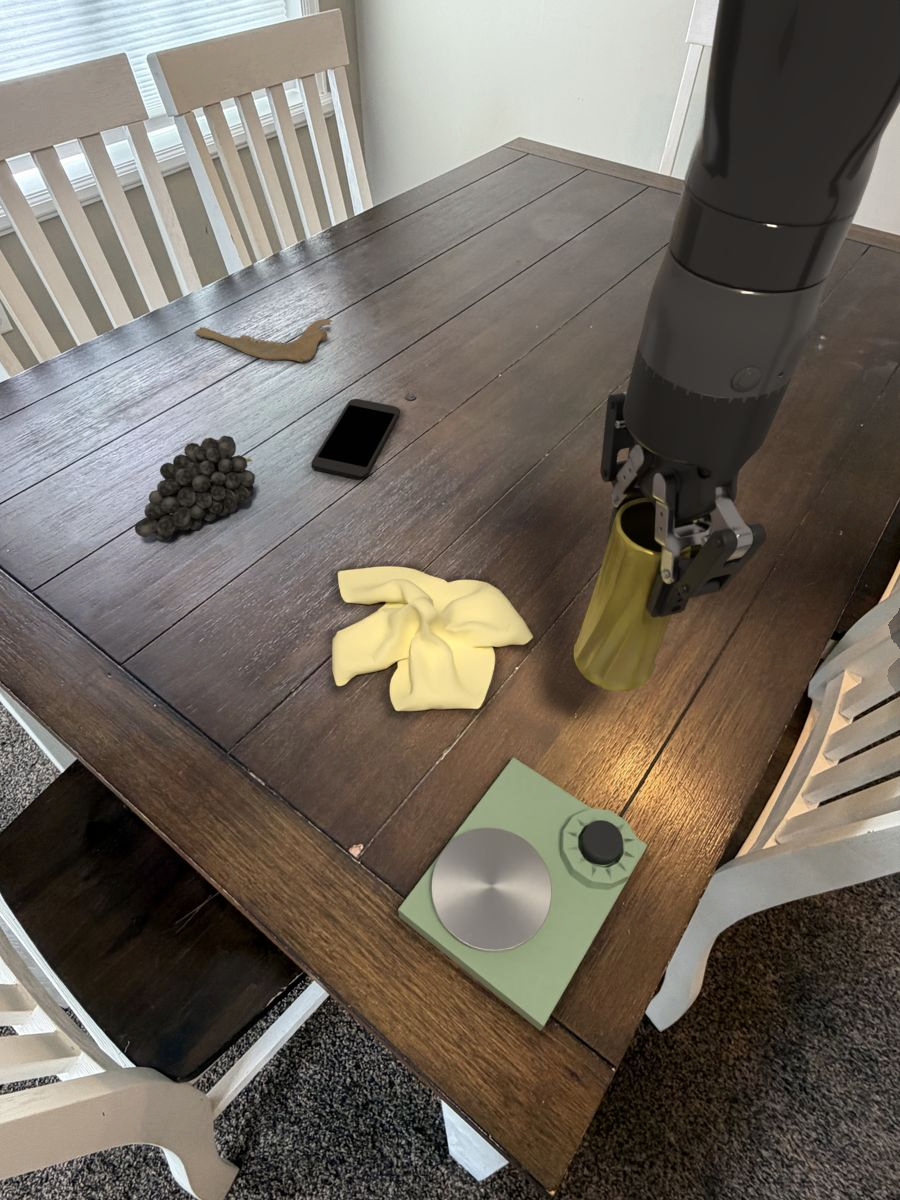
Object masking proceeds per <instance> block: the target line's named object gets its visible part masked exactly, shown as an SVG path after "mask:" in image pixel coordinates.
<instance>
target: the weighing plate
mask: <svg viewBox="0 0 900 1200" xmlns="http://www.w3.org/2000/svg"><path fill="white" fill-rule="evenodd" d="M447 844H448V843H447ZM447 844H446V845H447ZM445 847H446V846H445ZM445 847H444V848H445ZM444 848H443V849H444ZM443 849H442V851H441V852H442V853H441V852H440V853H441V854H440V853H439V854H440V856H439V855H438V856H439V858H438V860H437V862H436V864H435V867H434V870H433V874H432V880H431V896H432V902H433V906H434V909H435V912H436V915H437V917H438V919H439V921H440V922H441V924H442V925H443V927H444V928H445V929H446V931H447V932H448V933H449V934H450V935H451V936H452V937H453V938H454V939H455V940H457V941H458V942H460V943H461V944H463V945H465V946H467V947H469V948H471V949H474V950H477V951H480V952H486V953H502V952H507V951H511V950H513V949H516V948H518V947H520V946H522V945H524V944H525V943H527V942H528V941H529V940H531V939H532V938H533V937H534V936H535V935H536V934H537V933H538V931H539V930H540V928H541V927H542V925H543V924H544V922H545V920H546V917H547V915H548V912H549V909H550V905H551V898H552V886H551V880H550V875H549V872H548V869H547V867H546V865H545V862H544V861H543V859H542V857H541V856H540V854H539V853H538V852H537V851H536V849H535V848H534V847H533V846H532V845H531V844H530V843H528V842H527V841H526V840H525V839H523V838H521V837H520V836H518V835H516V834H514V833H512V832H509V831H506V830H502V829H497V828H481V829H476V830H472V831H469V832H466V833H464V834H462V835H460V836H459V837H457V838H456V839H454V840H453V841H452V842H451V843H450V844H448V845H447V847H446V848H445V849H444V850H443Z"/></svg>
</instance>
